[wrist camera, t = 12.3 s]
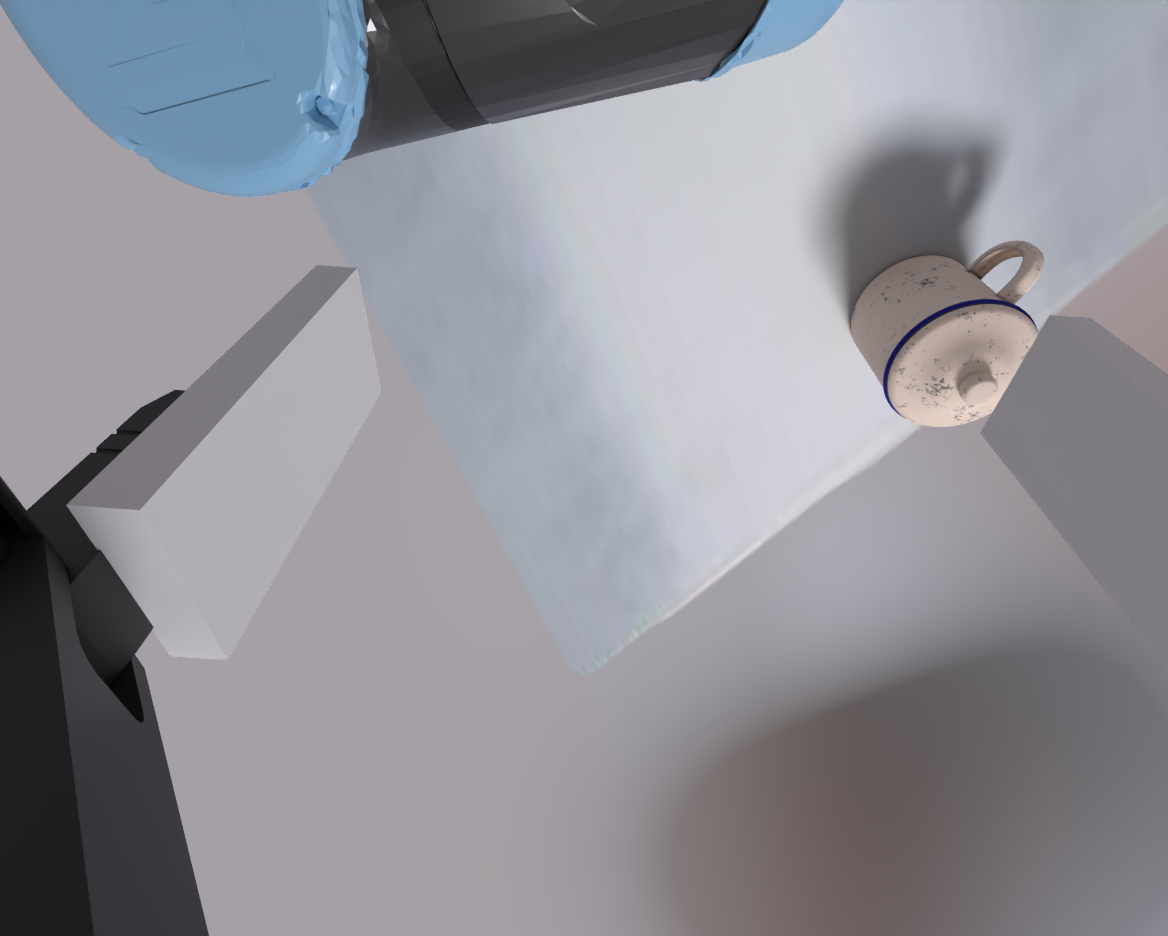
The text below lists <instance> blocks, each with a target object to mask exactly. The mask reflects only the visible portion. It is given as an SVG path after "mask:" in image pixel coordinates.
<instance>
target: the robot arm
mask: <svg viewBox="0 0 1168 936" xmlns="http://www.w3.org/2000/svg"><path fill="white" fill-rule="evenodd" d="M843 1H844V0H0V4H1V5H2V7H3V9H4V11H5V13H6V14H7V16H8V18H9V19H10V21H11V22H12V24H13V25H14V27H15V29H16V30H17V32H18V33H19V35H20V36H21V38H22V39H23V41H24V42H25V44H26V45H27V47H28V48H29V50H30V51H31V53H32V54H33V55H34V57H35V58H36V59H37V61H38V62H39V63H40V65H41V66H42V67H43V69H44V70H45V71H46V72H47V73H48V75H49V76H50V77H51V78H52V80H53V81H54V82H55V83H56V84H57V85H58V87H59V88H60V89H61V90H62V91H63V92H64V94H65V95H66V96H67V97H68V98H69V99H70V100H71V101H72V102H73V103H74V104H75V105H76V106H77V107H78V108H79V109H80V110H81V111H82V112H83V113H84V114H85V115H86V116H87V117H88V118H89V119H90V120H91V121H92V122H93V123H94V124H95V125H96V126H98V127H99V128H100V129H101V130H102V131H104V132H105V133H106V134H107V135H108V136H110V137H111V138H112V139H113V140H115V141H116V142H118V143H119V144H120V145H121V146H123V147H125V148H127V149H131V150H134V151H135V152H136V153H137V154H138V155H140V156H142V157H145V158H147V159H148V160H149V161H150V162H151V163H152V164H153V165H154V167H155V168H157V169H158V170H159V171H161V172H162V173H164V174H167V175H168V176H171V177H173V178H175V179H177V180H179V181H181V182H184V183H186V184H189V185H192V186H194V187H197V188H200V189H203V190H207V191H210V192H215V193H219V194H225V195H231V196H244V197H251V196H264V195H271V194H275V193H279V192H284V191H294V190H298V189H304V188H307V187H309V186H312V185H314V184H315V183H316V182H317V181H318V180H319V179H320V178H321V177H323V176H326V175H329V174H330V173H332V168H333V165H335V166H338V165H339V164H340V163H341V161H343V160H346V159H349V158H352V157H355V156H359V155H362V154H365V153H369V152H373V151H377V150H381V149H385V148H390V147H394V146H398V145H402V144H406V143H411V142H415V141H419V140H423V139H427V138H432V137H436V136H440V135H444V134H448V133H452V132H456V131H460V130H464V129H468V128H472V127H476V126H480V125H485V124H489V123H491V124H494V123H499V122H504V121H509V120H513V119H518V118H522V117H527V116H532V115H536V114H541V113H545V112H550V111H554V110H559V109H564V108H568V107H573V106H577V105H582V104H587V103H591V102H596V101H600V100H605V99H610V98H614V97H619V96H623V95H628V94H632V93H637V92H642V91H646V90H651V89H655V88H660V87H665V86H669V85H674V84H678V83H683V82H687V81H692V80H695V81H701V82H702V81H708V80H709V79H710V78H717V77H720V76H721V75H723V74H725V73H726V72H728V71H730V70H731V69H732V68H733V67H736V66H739V65H743V64H746V63H749V62H753V61H756V60H759V59H762V58H766V57H769V56H772V55H776V54H779V53H782V52H785V51H788V50H791V49H793V48H795V47H796V46H798V45H800V44H802V43H803V42H805V41H806V40H808V39H809V38H811V37H812V36H813V35H814V34H816V33H817V32H818V31H819V30H820V29H821V28H822V27H823V26H824V25H825V23H826V22H827V21H828V20H829V19H830V18H831V17H832V16H833V15H834V13H835V12H836V11H837V9H838V8H839V7H840V5H841V4H842V3H843ZM380 393H381V388H380V383H379V378H378V373H377V368H376V363H375V358H374V352H373V347H372V343H371V337H370V332H369V327H368V321H367V316H366V311H365V306H364V301H363V296H362V291H361V286H360V280H359V275H358V270H357V268H348V267H333V266H318V265H317V266H316V267H315V268H314V269H312V270H311V271H310V272H309V273H308V274H307V275H306V276H305V277H304V278H303V279H302V280H301V281H300V282H299V283H298V284H297V285H296V286H295V287H294V288H293V289H292V290H291V291H289V292H288V293H287V294H286V295H285V297H283V298H282V299H281V300H280V301H279V302H278V303H277V304H276V305H275V306H274V307H273V308H272V309H271V310H270V311H269V312H268V313H267V314H265V315H264V316H263V317H262V318H261V319H260V320H259V321H258V322H257V323H256V324H255V325H254V326H253V327H252V328H251V329H250V330H249V331H248V332H247V333H246V334H245V335H244V336H243V337H241V338H240V339H239V340H238V341H237V342H236V343H235V344H234V345H233V346H232V347H231V348H230V349H229V350H228V351H227V352H226V353H225V354H224V355H223V356H221V358H219V359H218V360H217V361H216V362H215V363H214V364H213V365H212V366H211V367H210V368H209V369H208V370H207V371H206V372H205V373H204V374H203V375H202V376H201V377H200V378H199V379H197V380H196V381H195V382H194V383H193V384H192V385H191V386H190V387H189V388H188V389H187V390H186V391H183V390H174V391H172V392H170V393H169V394H166V395H164V396H162V397H160V398H158V399H157V400H155V401H153V402H151V403H149V404H147V405H145V406H143V407H141V408H140V409H139V410H138V411H137V412H135V414H133V415H132V416H131V417H130V418H129V419H128V420H127V421H126V422H124V423H123V424H122V425H121V426H120V427H119V428H118V429H117V434H111V435H110V436H109V437H108V438H107V439H106V440H104V441H103V442H102V443H101V444H100V445H99V446H98V447H97V451H96V453H90V454H89V455H88V456H87V457H86V458H84V460H82V461H81V462H80V463H79V464H78V465H77V466H76V467H74V468H73V469H72V470H71V471H70V472H69V473H68V474H67V475H66V476H64V477H63V478H62V479H61V480H60V481H59V482H58V483H57V484H56V485H55V486H53V487H52V488H51V489H50V490H49V491H48V492H47V493H46V494H45V495H43V497H41V498H40V499H39V500H38V501H37V502H36V503H35V504H34V505H32V506H31V507H30V508H29V509H28V510H27V511H26V510H25V508H24V507H23V506H22V504H21V503H20V502H19V500H18V499H17V498H16V496H15V495H14V494H13V492H12V491H11V490H10V488H9V487H8V486H7V484H6V483H5V482H4V481H3V479H2V478H1V477H0V936H209V934H208V930H207V926H206V922H205V918H204V913H203V909H202V905H201V901H200V897H199V893H198V889H197V884H196V880H195V876H194V872H193V868H192V864H191V860H190V855H189V852H188V847H187V843H186V839H185V835H184V831H183V826H182V822H181V818H180V814H179V810H178V806H177V801H176V797H175V793H174V789H173V785H172V781H171V776H170V772H169V768H168V764H167V760H166V756H165V752H164V747H163V743H162V740H161V735H160V731H159V727H158V722H157V719H156V714H155V710H154V706H153V702H152V698H151V693H150V689H149V685H148V681H147V677H146V673H145V669H144V667H143V666H142V664H141V663H140V661H139V660H138V658H137V657H136V655H135V653H136V652H137V650H138V649H139V647H140V646H141V645H142V643H143V642H144V640H145V639H146V638H147V636H148V635H149V633H150V632H151V631H152V630H153V632H154V633H155V635H156V636H157V637H158V639H159V640H160V642H161V643H162V645H163V646H164V648H165V649H166V650H167V652H168V653H169V655H170V656H177V657H191V658H205V659H220V660H228V659H229V657H230V655H231V653H232V652H233V650H234V648H235V646H236V645H237V643H238V641H239V639H240V638H241V636H242V634H243V632H244V631H245V629H246V627H247V625H248V624H249V622H250V620H251V618H252V617H253V615H254V613H255V611H256V610H257V608H258V606H259V604H260V603H261V601H262V599H263V597H264V595H265V594H266V592H267V591H268V589H269V587H270V585H271V584H272V582H273V580H274V578H275V577H276V575H277V573H278V571H279V569H280V568H281V566H282V564H283V562H284V561H285V559H286V557H287V556H288V553H289V552H290V550H291V549H292V547H293V545H294V543H295V542H296V540H297V538H298V536H299V535H300V533H301V531H302V529H303V528H304V526H305V524H306V522H307V521H308V519H309V517H310V515H311V514H312V512H313V510H314V508H315V507H316V505H317V503H318V501H319V499H320V498H321V496H322V494H323V492H324V491H325V489H326V487H327V486H328V484H329V482H330V480H331V479H332V477H333V475H334V473H335V472H336V470H337V468H338V466H339V465H340V463H341V461H342V459H343V458H344V456H345V454H346V453H347V451H348V449H349V447H350V446H351V443H352V442H353V440H354V439H355V437H356V435H357V433H358V432H359V430H360V428H361V426H362V424H363V423H364V421H365V419H366V418H367V416H368V414H369V412H370V410H371V409H372V407H373V405H374V403H375V402H376V400H377V398H378V397H379V395H380ZM981 434H982V436H983V437H984V438H985V439H986V441H987V442H988V443H989V445H990V446H991V447H992V448H993V450H994V451H995V452H996V453H997V455H998V456H999V457H1000V458H1001V460H1002V461H1003V462H1004V464H1005V465H1006V466H1007V467H1008V469H1009V470H1010V471H1011V472H1012V474H1013V475H1014V476H1015V477H1016V479H1017V480H1018V481H1019V483H1020V484H1021V485H1022V486H1023V488H1024V489H1025V490H1026V491H1027V492H1028V494H1029V495H1030V496H1031V498H1032V499H1033V500H1034V501H1035V503H1036V504H1037V505H1038V507H1039V508H1040V509H1041V510H1042V512H1043V513H1044V514H1045V515H1046V516H1047V518H1048V519H1049V520H1050V522H1051V523H1052V524H1053V525H1054V527H1055V528H1056V529H1057V531H1058V532H1059V533H1060V534H1061V536H1062V537H1063V538H1064V539H1065V541H1066V542H1067V543H1068V544H1069V545H1070V547H1071V548H1072V550H1073V551H1074V552H1075V553H1076V554H1077V556H1078V557H1079V558H1080V560H1081V561H1082V562H1083V563H1084V565H1085V566H1086V567H1087V568H1088V570H1089V571H1090V572H1091V574H1092V575H1093V576H1094V577H1095V579H1096V580H1097V581H1098V582H1099V584H1100V585H1101V586H1102V587H1103V589H1104V590H1105V591H1106V593H1107V594H1108V595H1109V596H1110V598H1111V599H1112V600H1113V601H1114V603H1115V604H1116V605H1117V606H1118V608H1119V609H1120V610H1121V611H1122V613H1123V614H1124V615H1125V616H1126V618H1127V619H1128V620H1129V621H1130V623H1131V624H1132V625H1133V627H1134V628H1135V629H1136V630H1137V632H1138V633H1139V634H1140V635H1141V636H1142V638H1143V639H1144V641H1145V642H1146V643H1147V644H1148V645H1149V647H1150V648H1151V649H1152V651H1153V652H1154V653H1155V654H1156V656H1157V657H1158V658H1159V660H1160V661H1161V662H1162V663H1163V665H1164V666H1165V667H1166V668H1167V670H1168V374H1167V373H1165V372H1164V371H1162V370H1161V369H1160V368H1158V367H1157V366H1156V365H1154V364H1153V363H1152V362H1150V361H1149V360H1147V359H1146V358H1145V357H1143V356H1142V355H1140V354H1139V353H1138V352H1136V351H1135V350H1134V349H1132V348H1131V347H1129V346H1128V345H1127V344H1125V343H1124V342H1122V341H1121V340H1120V339H1118V338H1117V337H1116V336H1114V335H1113V334H1111V333H1110V332H1109V331H1107V330H1106V329H1105V328H1103V327H1102V326H1101V325H1099V324H1098V323H1096V322H1095V321H1094V320H1092V319H1091V318H1082V317H1068V316H1067V317H1066V316H1053V315H1050V316H1049V317H1048V319H1047V321H1046V322H1045V324H1044V326H1043V328H1042V329H1041V331H1040V333H1039V334H1038V336H1037V338H1036V339H1035V341H1034V343H1033V345H1032V346H1031V348H1030V350H1029V351H1028V353H1027V355H1026V356H1025V358H1024V360H1023V361H1022V363H1021V365H1020V367H1019V368H1018V370H1017V372H1016V373H1015V375H1014V377H1013V378H1012V380H1011V382H1010V384H1009V385H1008V387H1007V389H1006V390H1005V392H1004V394H1003V395H1002V397H1001V399H1000V400H999V402H998V404H997V406H996V407H995V409H994V411H993V412H992V414H991V416H990V417H989V419H988V421H987V422H986V424H985V426H984V428H983V429H982V431H981Z"/></svg>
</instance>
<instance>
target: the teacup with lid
mask: <svg viewBox="0 0 1168 936" xmlns="http://www.w3.org/2000/svg"><path fill="white" fill-rule="evenodd" d="M1013 257H1023V261H1022V264H1021V267H1020V269H1019V270H1018V272H1017V273H1016V275H1015V276H1014V277H1013V278H1012V280H1011V281H1010V282H1009V283H1008V284H1007V285H1006V286H1005V287H1004V288H1003V289H1001V290H1000V291H999V292H998V293H997V294H996V293H995V292H994V291H993V290H992V289H990V288H989V287H988V286H987V285H986V284H984V283H983V282H982V281H981V279H982V278H983V277H984V276H985V275H986V274H987V273H988V272H989V271H990V270H992V269H993V268H994V267H995V266H997V265H998V264H999V263H1001V262H1003V261H1005V260H1007V259H1010V258H1013ZM1043 265H1044V256H1043V254H1042V252H1041V251H1040V250H1039V249H1038V248H1037V247H1035V246H1034V245H1032V244H1030V243H1028V242H1025V241H1009V242H1005V243H1002V244H999V245H997V246H995V247H993V248H991V249H989V250H988V251H986V252H985V253H984V254H982V255H981V256H980V257H979V258H978V259H976V260H975V261H974V262H973V263H972V264H971V265H970V266H969V267H968V268H967V269H966V268H965V267H964V266H963V265H961V264H960V263H959V262H957V261H955V260H953V259H950V258H947V257H943V256H935V255H928V256H919V257H914V258H910V259H907V260H904V261H902V262H899V263H897V264H895V265H893V266H891V267H890V268H888V269H886V270H885V271H884V272H882V273H881V274H880V275H878V276H877V277H876V278H875V279H874V280H873V281H872V282H871V283H870V284H869V285H868V286H867V287H866V288H865V290H864V291H863V292H862V294H861V295H860V297H859V299H858V301H857V303H856V305H855V307H854V311H853V314H852V319H851V332H852V337H853V340H854V342H855V344H856V346H857V347H858V349H859V351H860V352H861V354H862V355H863V357H864V358H865V360H866V361H867V363H868V365H869V366H870V368H871V369H872V371H873V372H874V374H875V375H876V377H877V379H878V380H879V382H880V383H881V385H882V386H883V389H884V393H885V396H886V399H887V401H888V403H889V404H890V406H891V407H892V408H893V409H894V410H895V411H896V412H897V413H898V414H899V415H900V416H902V417H904V418H906V419H908V420H910V421H912V422H914V423H917V424H921V425H925V426H932V427H948V426H955V425H960V424H965V423H968V422H971V421H974V420H977V419H979V418H982V417H984V416H986V415H988V414H990V413H992V412H993V411H994V409H995V407H996V406H997V404H998V402H999V400H1000V399H1001V397H1002V395H1003V394H1004V392H1005V390H1006V389H1007V387H1008V385H1009V384H1010V382H1011V380H1012V378H1013V377H1014V375H1015V373H1016V372H1017V370H1018V368H1019V367H1020V365H1021V363H1022V361H1023V360H1024V358H1025V356H1026V355H1027V353H1028V351H1029V350H1030V348H1031V346H1032V345H1033V343H1034V341H1035V339H1036V338H1037V336H1038V330H1037V328H1036V325H1035V323H1034V321H1033V320H1032V318H1031V317H1030V316H1029V315H1028V314H1027V313H1026V312H1025V311H1024V310H1023V309H1021V308H1020V307H1018V306H1016V305H1014V304H1015V303H1016V302H1017V301H1018V300H1019V299H1020V298H1021V297H1022V296H1023V295H1024V294H1025V293H1026V292H1027V291H1028V290H1029V289H1030V288H1031V287H1032V286H1033V284H1034V283H1035V282H1036V280H1037V279H1038V277H1039V275H1040V273H1041V271H1042V268H1043Z"/></svg>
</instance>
